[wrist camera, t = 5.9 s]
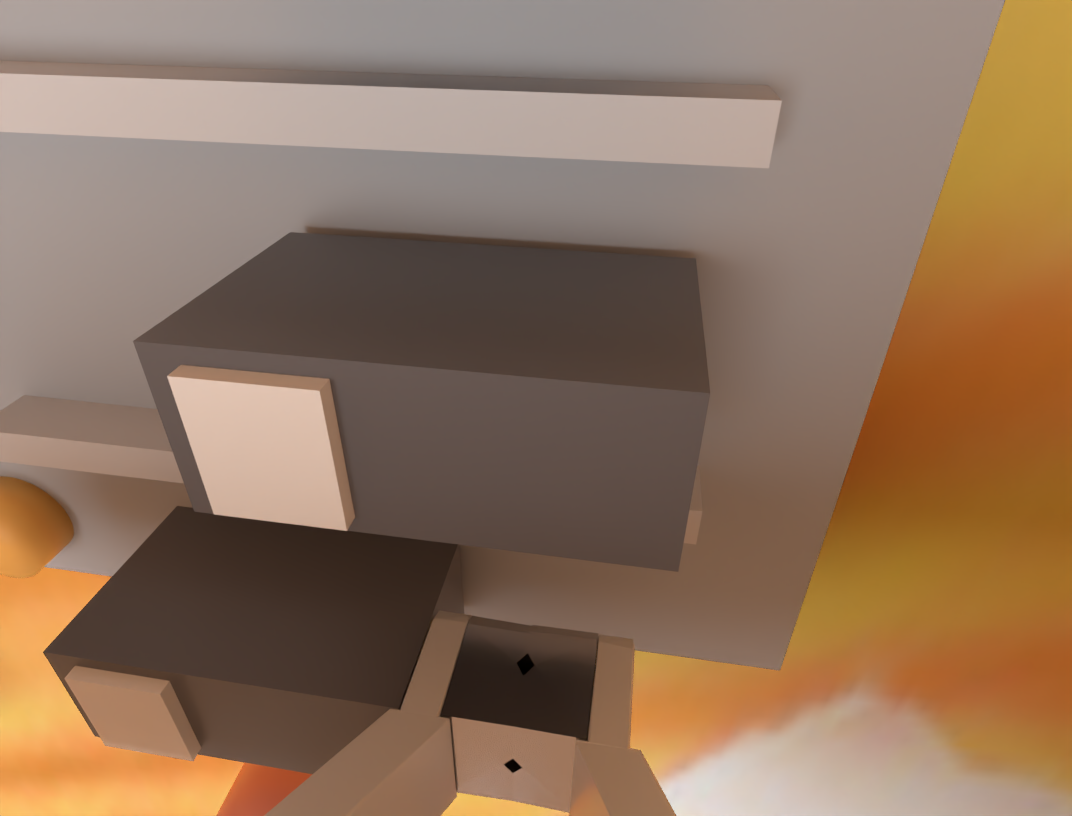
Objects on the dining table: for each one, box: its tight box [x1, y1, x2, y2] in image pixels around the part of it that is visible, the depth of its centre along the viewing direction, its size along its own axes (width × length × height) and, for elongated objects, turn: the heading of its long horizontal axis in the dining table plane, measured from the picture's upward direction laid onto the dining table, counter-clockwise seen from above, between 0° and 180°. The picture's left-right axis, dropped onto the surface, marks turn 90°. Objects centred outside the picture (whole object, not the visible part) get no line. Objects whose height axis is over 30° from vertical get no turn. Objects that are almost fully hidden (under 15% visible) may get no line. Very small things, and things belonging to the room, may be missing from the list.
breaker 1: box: [133, 232, 710, 572], centre depth 7 cm, size 5×2×3 cm, turn 89°
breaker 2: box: [43, 506, 465, 774], centre depth 10 cm, size 5×2×3 cm, turn 90°
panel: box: [0, 0, 1005, 670], centre depth 10 cm, size 24×13×4 cm, turn 90°
